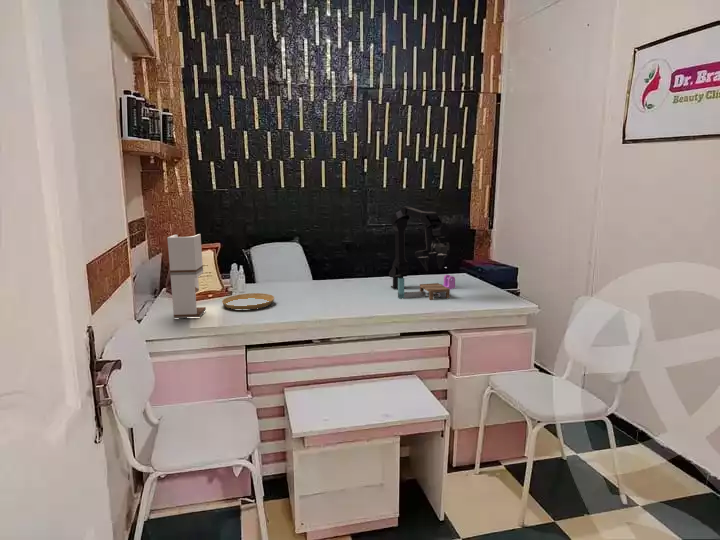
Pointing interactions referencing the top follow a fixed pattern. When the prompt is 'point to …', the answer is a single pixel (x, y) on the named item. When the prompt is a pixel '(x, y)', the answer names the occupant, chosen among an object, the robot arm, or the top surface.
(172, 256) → the grey segmented column
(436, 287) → the stand
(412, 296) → the teal angled piece
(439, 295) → the disc
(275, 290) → the top surface
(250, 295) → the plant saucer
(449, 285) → the bracket
